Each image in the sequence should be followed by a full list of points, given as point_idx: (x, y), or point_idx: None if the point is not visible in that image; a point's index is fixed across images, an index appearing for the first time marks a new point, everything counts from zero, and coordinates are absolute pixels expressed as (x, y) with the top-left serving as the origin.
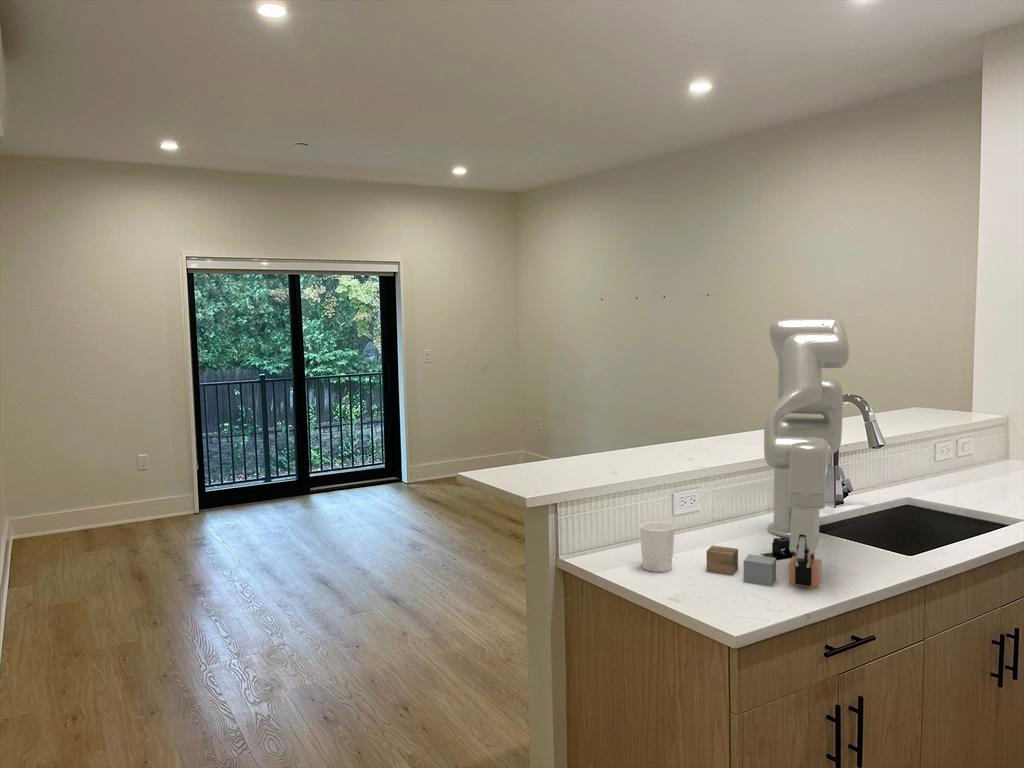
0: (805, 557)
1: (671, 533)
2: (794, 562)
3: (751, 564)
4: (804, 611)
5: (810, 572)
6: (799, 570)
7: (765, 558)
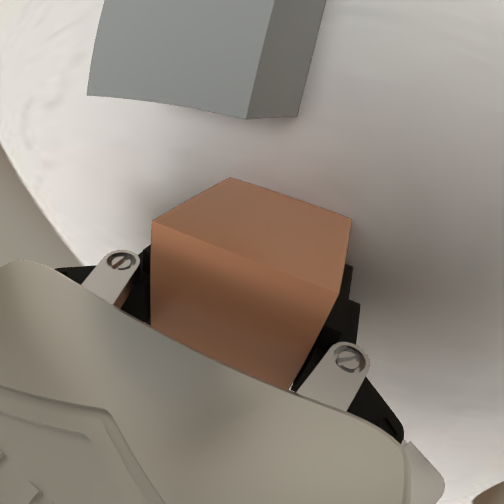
0: (302, 364)
1: None
2: (158, 258)
3: None
4: (40, 201)
5: None
6: (140, 258)
7: (204, 23)
